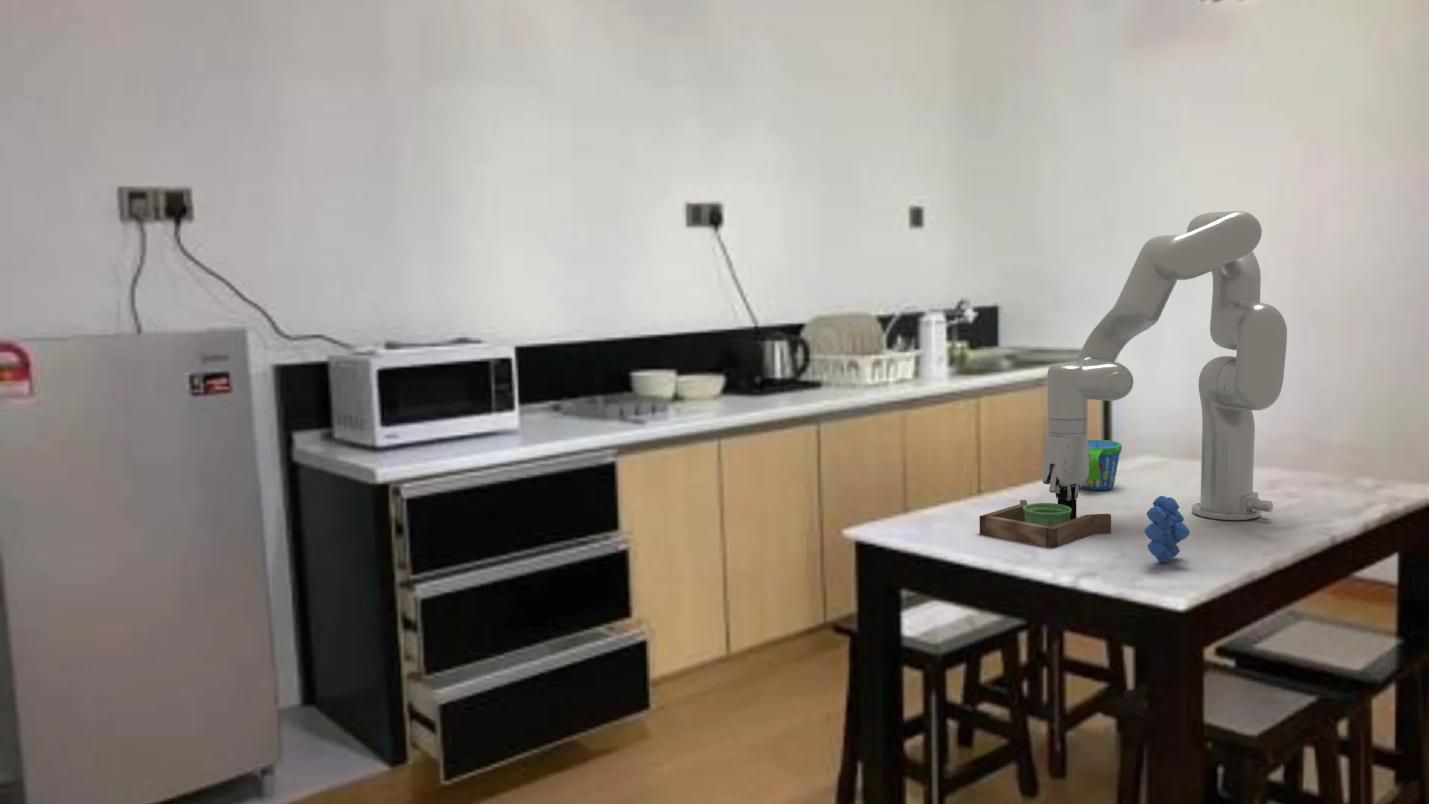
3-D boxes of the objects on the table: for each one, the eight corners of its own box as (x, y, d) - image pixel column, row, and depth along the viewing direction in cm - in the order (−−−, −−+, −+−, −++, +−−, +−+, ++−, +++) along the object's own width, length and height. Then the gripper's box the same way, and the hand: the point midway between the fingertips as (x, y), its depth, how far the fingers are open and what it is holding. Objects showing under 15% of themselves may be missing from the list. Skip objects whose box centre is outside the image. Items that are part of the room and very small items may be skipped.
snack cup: (1114, 496, 246) (1115, 450, 245) (1064, 493, 251) (1065, 447, 250) (1126, 482, 260) (1127, 438, 259) (1079, 479, 265) (1079, 436, 264)
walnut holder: (1112, 532, 216) (1113, 514, 216) (1062, 550, 205) (1063, 531, 205) (1022, 516, 231) (1022, 499, 231) (970, 532, 220) (970, 514, 220)
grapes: (1175, 575, 188) (1176, 503, 186) (1135, 568, 193) (1136, 498, 191) (1202, 559, 196) (1204, 491, 195) (1163, 553, 201) (1165, 486, 199)
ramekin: (1068, 537, 214) (1068, 514, 213) (1019, 534, 217) (1019, 511, 217) (1073, 526, 222) (1074, 504, 221) (1026, 523, 226) (1026, 501, 225)
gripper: (1071, 420, 229) (1070, 509, 232) (1028, 429, 220) (1028, 522, 222) (1105, 423, 224) (1104, 514, 226) (1063, 433, 214) (1062, 528, 216)
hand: (1066, 518), depth 224 cm, fingers closed
